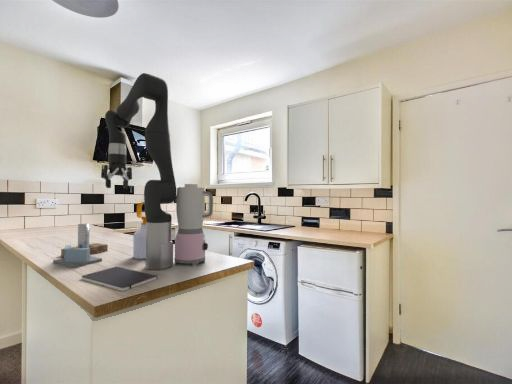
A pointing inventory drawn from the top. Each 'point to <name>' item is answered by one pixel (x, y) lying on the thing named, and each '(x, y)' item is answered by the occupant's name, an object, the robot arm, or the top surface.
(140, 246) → the soap bottle
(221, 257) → the top surface
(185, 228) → the blender
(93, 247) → the beam
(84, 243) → the axle
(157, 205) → the robot arm
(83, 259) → the v block
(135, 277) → the notebook
